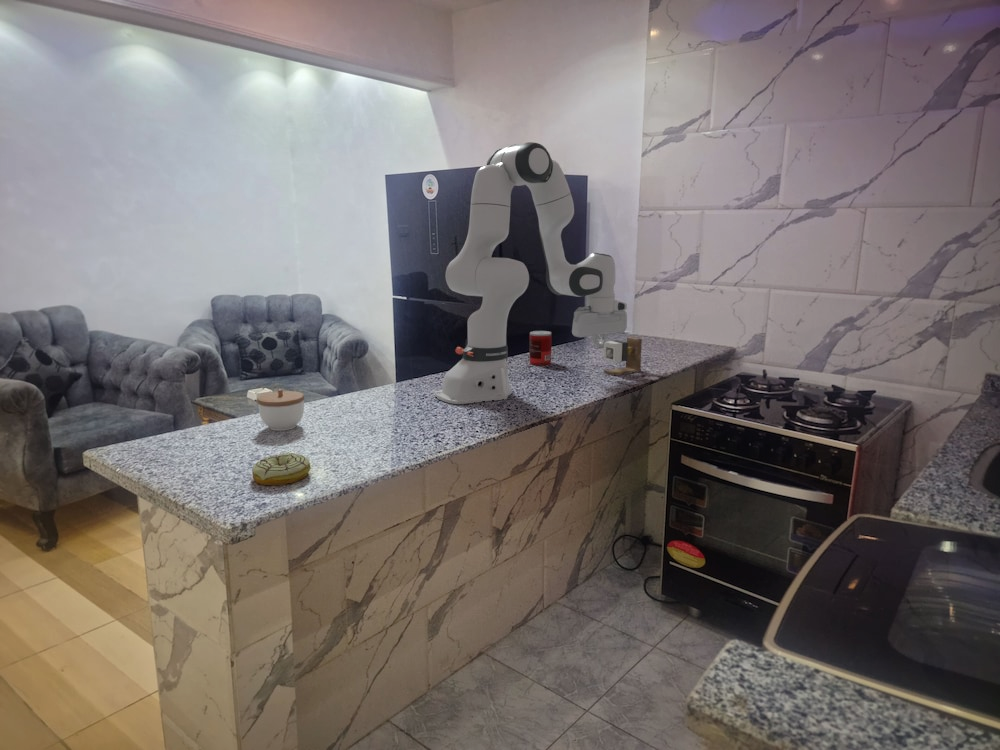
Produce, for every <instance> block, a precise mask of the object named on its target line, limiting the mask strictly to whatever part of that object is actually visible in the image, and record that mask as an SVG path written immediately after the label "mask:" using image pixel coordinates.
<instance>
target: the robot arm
mask: <svg viewBox="0 0 1000 750" xmlns="http://www.w3.org/2000/svg"><path fill="white" fill-rule="evenodd" d="M474 175H475V176H474V179H473V184H472V188H471V195H470V207H469V208H470V210H469V222H468V223H469V224H468V230H467V231H468V232H467V236H466V240H465V242H464V245H463V247H462V248H461V250H460V251H459V253H458V254H457V255H456V256H455V257H454V258H453V259H452V260H451V261H450V262H449V263H448V265H447V266H446V270H445V281H446V284H447V286H448V288H449V289H450V290H451V291H452V292H455V293H457V294H461V295H464V296H472V297H482V301H481V306H480V307H479V309H476V311H474V312H472V313H471V314H470V316H469V317H468V318H467V344H466V345H465V347H464V348H463V347H461V346H457V347H456V348H455V350H454V351H455V353H456V354H457V355H462V356H461V357H462V358H461V360H460V359H459V361H458V362H457V363H456V364H455V365H454V366H453V367H452V368H450V369H449V370H448V371H447V372H446V373H445V374H444V376H443V380H442V387H441V389H439V390H435V392H434V397H435V398H436V397H437V398H436V399H437V400H440V401H442V402H445V403H448V404H455V405H464V404H474V402H475V403H483V402H482V401H485V402H492V400H494V401H503V400H502V399H504V400H507V399H508V397H509V396H510V395H511V394H512V392H513V390H512V388H511V384H510V379H509V374H508V373H509V372H508V359H509V358H508V357H509V356H508V355H509V353H508V352H509V351H508V349H509V348H508V344H507V328H508V318H509V313H510V310H511V308H512V307H513V305H514V303H515V302H516V300H517V299H519V297H521V296H522V295H523V294H524V293H525V292H526V290H527V289H528V287H529V282H530V274H529V271H528V268H527V266H526V265H525V263H524V262H522V261H520V260H517V259H512V258H509V257H492V255H493V252H494V251H495V249H496V247H497V246H498V245H499V244H501V243H502V242H504V241H506V239H507V238H508V235H509V233H510V220H511V218H510V217H511V199H512V198H511V195H512V191H513V189H514V187H515V186H517V187H522V186H527V188H528V189H529V191H530V193H531V196H532V197H531V198H532V201H533V205H534V208H535V210H536V215H537V218H538V232H539V237H540V242H541V247H542V252H543V256H544V260H545V266H546V272H545V281H546V285H547V288H548V289H549V290H550V292H551V293H553V294H555V295H556V296H571V297H579V298H580V297H586V298H585V299H586V300H585V302H586V303H585V305H586V306H579V307H578V308H576V309H575V311H574V312H573V320H572V328H571V333H572V336H574V337H576V338H585V337H591V340H592V342H593V348H594V349H595V350H599V349H604V344H605V342H607V339H608V335H610V334H619V333H624V332H625V331H626V329H627V328H628V315H627V312H626V310H627V308H628V304H627V303H625V302H622V301H620V300H617V299H616V298H615V297H616V296H615V295H616V294H615V284H616V263H615V259H614V257H613V256H611V255H609V254H605V253H599V252H593V253H589V255H588V257H586V258H585V259H583V260H582V261H580V262H578V263H576V264H571V263H570V262H569V261H567V258H566V257H565V250H564V247H563V240H562V232H563V229H564V228H565V227H567V225H569V224H570V223H571V220H572V219H573V217H574V215H575V206H574V199H573V197H572V193H571V189H570V186H569V184H568V181H567V179H566V176H565V174H564V171H563V170H562V167H561V166H560V164H559V163H558V162H557V161H556V160H553V159H552V158H551V154H550V152H549V151H548V150H547V148H546V147H545V146H544V145H543V144H540V143H538V142H525V143H520V144H512V145H509V146H506V147H503V148H500V149H497V150H495V151H494V152H493V153H492V154H491V155H490V156H489V157H488V159H487V161H486V164H485V165H484V166H481V167H479V168H478V169H477V170H476V172H475V174H474ZM599 338H600V339H599ZM598 339H599V340H598Z"/></svg>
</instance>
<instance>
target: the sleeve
mask: <svg viewBox="0 0 1000 750" xmlns="http://www.w3.org/2000/svg"><path fill="white" fill-rule="evenodd" d="M614 341H615V340H609V341H605V344H604V348H603V349H604V350H603V360H604V361H607V362H610V363H621V362H623V361H622V343H618V342H614ZM611 349H613V357H608V355H607V351H608V350H611Z"/></svg>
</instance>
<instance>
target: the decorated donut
mask: <svg viewBox="0 0 1000 750" xmlns="http://www.w3.org/2000/svg"><path fill="white" fill-rule="evenodd" d="M310 470H311V462H310V460H309V459H308V458H307V457H306V456H305V455H303V454H299V453H294V452H289V453H288V452H286V453H285V452H284V453H278V454H275V455H274V454H273V455H269V456H267V457H264V458H262V459H260V460H259V461H258V462H256V463H255V464H254V465H253V466H252V467H251V471H252V472H251V473H252V478H253V481H254V482H255V483H256V484H260V485H263V486H272V487H273V486H274V487H275V486H276V487H277V486H279V485H281V486H284V485H287V484H293V483H296V482H298V481H301V480H303V479H304V478H306V477H307V476H308V475H309V472H310Z"/></svg>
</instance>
